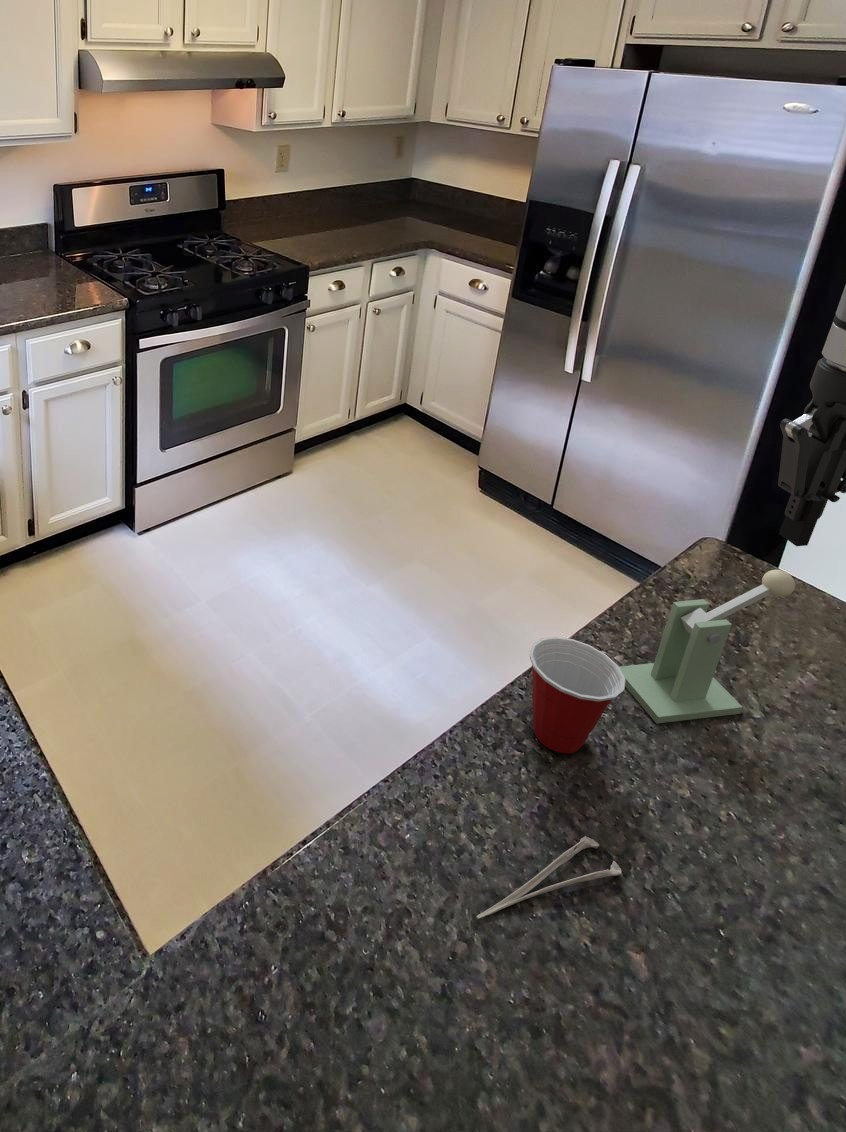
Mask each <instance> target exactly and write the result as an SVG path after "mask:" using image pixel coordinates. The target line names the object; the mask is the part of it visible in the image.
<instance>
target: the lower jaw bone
mask: <svg viewBox="0 0 846 1132" xmlns="http://www.w3.org/2000/svg"><path fill="white" fill-rule="evenodd" d="M599 847H600V843H599V842H597V841H596V840H595V839H593V838H590V837H589V836H587V835H584V836H583V837H581V838H580V840H579V842H577V843H576V844H575V845H573V846H572V847H570V848H569V849H567V850H566V851H564V852H563V853H561V854H560V855H559V856H558V857H556V858H555V859H554V860H553V861H552V862H550V864H548V865H547V866H546V867H544V868H543V869H542V870H541V871H540V872H538V873H537V874H536V875H535V876H533V878H531V879H530V880H528V881H526V883H524V884H523V885H522V886H520V887H519V888H517V889H516V890H515V891H513V892H512V893H510V894H509V895H508V896H506V897H505V898H503V899H501V900H500V901H498V902H497V903H495V904H494V905H492V906H491V907H489V908H487V909H485V910H484V911H482V912H481V913H479V914H478V915H476V919H477V920H481V919H482V918H486V917H487V916H490V915H493V914H495V913H497V912H499V911H501V910H503V909H507V907H510V906H512V905H515V904H518V903H520V902H522V901H524V900H527V899H530V898H533V897H536V896H539V895H542V894H546V893H548V892H552V891H554V890H558V889H561V888H565V887H567V886H572V885H574V884H577V883H582V882H588V881H592V880H597V879H601V878H609V877H616V876H620V875H622V874H623V872H622V868H621V867H620V866H619V864H618V863H617V862H616V861H615V860H613V861H612V862H611V863H612V864H611V865H610V869H604V870H598V871H593V872H591V873H590V872H589V873H587V874H584V875H581V876H577V877H574V878H571V879H567V880H563V881H561V882H558V883H555V884H552V885H548V886H545V887H543V888H541V889H539V890H536V891H532V892H531V890H533V889H534V888H535V887H536V886H538V885H539V884H540V883H541V882H543V880H545V879H546V878H547V877H549V876H550V874H551V873H553V872H554V871H555V870H557V868H559V867H560V866H562V865H563V864H565V863H566V862H568V861H570V860H571V859H572V858H573V857H574V856H575V855H577V854H579V852H581V851H583V850H584V849H587V848H588V849H589V848H593V849H598V848H599ZM529 892H531V893H529ZM527 893H528V894H527Z"/></svg>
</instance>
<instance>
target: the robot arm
mask: <svg viewBox="0 0 846 1132" xmlns="http://www.w3.org/2000/svg"><path fill="white" fill-rule="evenodd" d="M821 354H822V356H823V357H822V358H820V359H819V360H818V361H817V363H816V365H815V369H814V371H813V373H812V376H811V380H810V382H809V388H810V390H811V394H812V399H811V400H810V401H809V403H808V404H807V405H806V406H805V408H804V409H803V414H802V415H801V416H799V417H797V418H796V419H794V420H791V419H789V418H784V419H782V420H781V421H780V423H779V427H780V431H781V432H782V436H783V437H782V444H781V453H780V463H779V470H778V471H779V473H778V482H777V485H778V487H780V488H781V489H782V490H784V491H786V492H787V493H789V494H790V496H789V499H788V501H787V504H786V507H785V509H784V516H785V517H784V520H783V522H782V524H781V527H780V530H779V532H778V535H780V537H782V538H784V539H785V540H787V541H788V542H789V543H791V544H792V545H794V546H795V547H806V546H808V545H809V543H810V541H811V537H812V535H813V532H814V530H815V528H816V526H817V522H818V520H819V519H820V518H821V517H822V516H823V513H824V511H825V509H826V507H827V504H828V501H830V502H831V503H837V502H839V500H840V499H841V497H840V496H838V495H837V493H839V492H840V493H841V494H846V284H845V286H844V288H843V291H842V294H841V297H840V300H839V303H838V306H837V309H836V311H835V315H834V317H833V321H832V324H831V327H830V329H829V332H828V334H827V337H826V340H825V343H824V345H823V348H822V351H821Z"/></svg>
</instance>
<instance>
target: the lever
mask: <svg viewBox="0 0 846 1132" xmlns="http://www.w3.org/2000/svg"><path fill="white" fill-rule="evenodd" d="M795 588H796V582H795V579H794V578H793V577H792V575H791V574H790V573H788V572H787V571H784V570H783V569H771V570H769V571H766V572H765V573H764V575H763V576H762V578H761V584H760V585H758V586H756V587H754V588H752V589H750V590H748V591H746V592H744V593H743V594H741V595H738V596H736V597H734V598H733V599H731V600H729V601H727V602H724V603H723V604H721V605H719V606H717V607H715V608H714V609H711V610H709V611H707V612H705V611H704V610H702V609H701V608H699V609H697V610H695V611H693V612H691V613H689V614H687V615H685V616H683V617H681V619H682V622H683V625H684V627H685V629H686V630H687V631H688V632H689V633H690V634H691V633H692V630H693V627H694V624H695V623H697V622H707V621H716V620H724V619H726V618H727V617H729V616H730V615H733V614H735V613H737V612H739V611H741V610H742V609H744V608H746V607H749V606H750V605H752V604H755V603H756V602H758V601H760V600H763V598H766V597H768V596H770V595H771V596H774V597H776V598H777V597H778V598H784V597H788V596H790V595H791V594H792V593H793V592H794V591H795Z"/></svg>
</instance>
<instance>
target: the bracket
mask: <svg viewBox="0 0 846 1132" xmlns="http://www.w3.org/2000/svg"><path fill="white" fill-rule="evenodd" d="M709 606H710V603H709V602H708V601H707V600H706V599H705V598H700V599H690V600H681V601H680V600H679V601H673V602H672V606H671V609H670V611H669V615H668V617H667V621H666V624H665V627H664V630H663V634H662V637H661V640H660V643H659V647H658V650H657V652H656V655H655V660H654V662H649V663H639V664H632V665H623V666H621V665H620V666H619V668H620V670H621V671H622V673H623V675H624V677H625V689H627V691H628V692H629V693H630V694H631V696H633V698H634V699H635V700H636V702H637V703H639V705H640V706H641V707H642V709H643V710H644V711H645V712H646V713H647V715H648V716H649V717H650V718H651V719H652V720H653V722H654V723H655V724H657V725H658V724H664V723H665V724H666V723H674V722H683V721H690V720H698V719H707V718H715V717H716V718H717V717H724V716H732V715H741V713H742V711H743V706H742V705H741V704H740V703H739V701H738V700H737V699H736V698H735V697H734V696H732V694H731V693H730V692H729V691H728V690H727V689H726V688H725V687H724V686H722V684H721V683H720V682H719V681H718V680H717V679H716V678H715V677H714V676H715V673H716V670H717V667H718V665H719V661H720V659H721V656H722V654H723V651H724V649H725V645H726V643H727V640H728V638H729V635H730V631H731V629H732V626H733V624H732V623H731V622H730V621H729V620H728V619H721V620H716V621H707V622H697V623H695V624H694V627H693V630H692V633H691V634H690V633H689V632H688V631H687V630H686V629H685V627H684V625H683V622H682V619H681V617H683V616H685V615H687V614H689V613H691V612H693V611H695V610H697V609H699V608H701V609H702V610H704V611H705V612H706V613H707V612H708V609H709Z"/></svg>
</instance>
